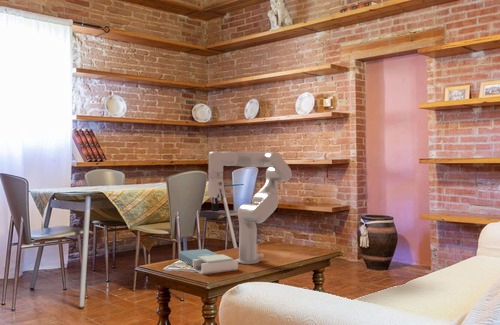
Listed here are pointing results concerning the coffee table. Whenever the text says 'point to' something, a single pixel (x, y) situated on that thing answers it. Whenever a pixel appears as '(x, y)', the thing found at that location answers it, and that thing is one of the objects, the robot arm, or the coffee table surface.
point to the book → (194, 255)
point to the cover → (215, 258)
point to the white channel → (214, 266)
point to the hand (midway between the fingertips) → (215, 211)
